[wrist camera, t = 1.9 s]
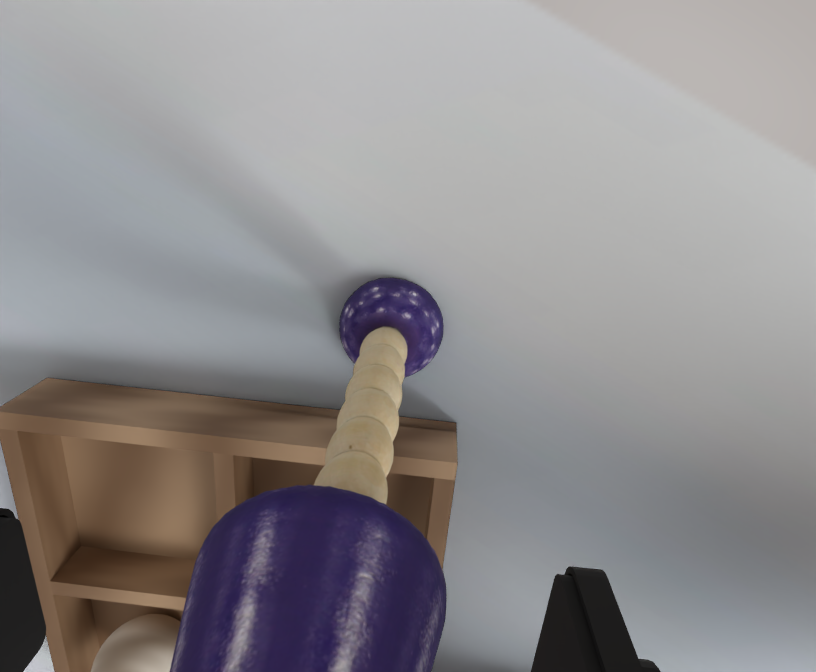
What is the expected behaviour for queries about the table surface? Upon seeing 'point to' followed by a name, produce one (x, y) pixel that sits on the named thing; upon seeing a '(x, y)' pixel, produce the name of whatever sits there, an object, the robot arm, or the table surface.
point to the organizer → (169, 491)
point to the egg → (139, 646)
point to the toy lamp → (330, 532)
